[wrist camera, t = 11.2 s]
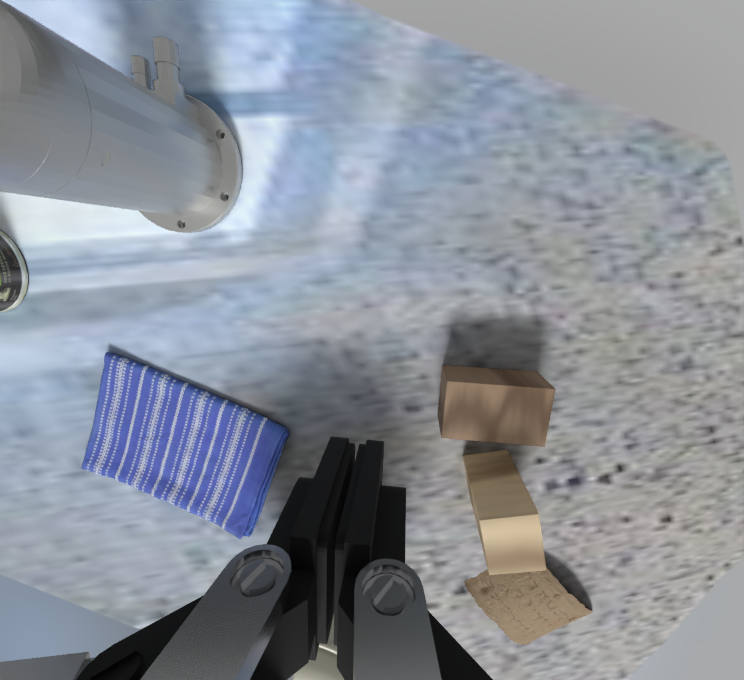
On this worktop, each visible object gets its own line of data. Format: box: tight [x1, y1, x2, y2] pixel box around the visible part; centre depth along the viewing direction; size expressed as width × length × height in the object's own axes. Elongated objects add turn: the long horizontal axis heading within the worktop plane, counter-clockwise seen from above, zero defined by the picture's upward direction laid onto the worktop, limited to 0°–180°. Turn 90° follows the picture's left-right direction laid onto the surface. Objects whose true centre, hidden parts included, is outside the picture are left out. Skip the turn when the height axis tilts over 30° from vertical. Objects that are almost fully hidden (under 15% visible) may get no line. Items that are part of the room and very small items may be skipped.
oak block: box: [463, 450, 546, 575], centre depth 36 cm, size 6×5×10 cm
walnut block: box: [438, 365, 555, 447], centre depth 36 cm, size 6×5×10 cm
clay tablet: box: [465, 568, 592, 645], centre depth 44 cm, size 14×10×3 cm
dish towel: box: [81, 352, 289, 539], centre depth 43 cm, size 17×24×3 cm
